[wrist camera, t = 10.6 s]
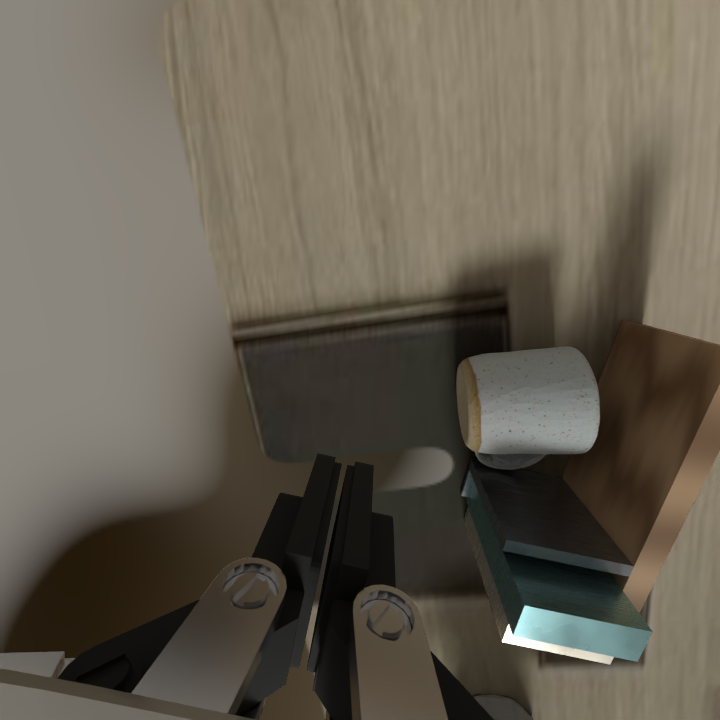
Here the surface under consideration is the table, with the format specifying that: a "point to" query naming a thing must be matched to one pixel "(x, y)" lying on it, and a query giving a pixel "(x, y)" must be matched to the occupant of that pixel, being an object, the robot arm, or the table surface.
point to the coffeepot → (502, 707)
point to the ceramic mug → (527, 405)
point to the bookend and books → (549, 567)
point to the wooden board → (650, 445)
